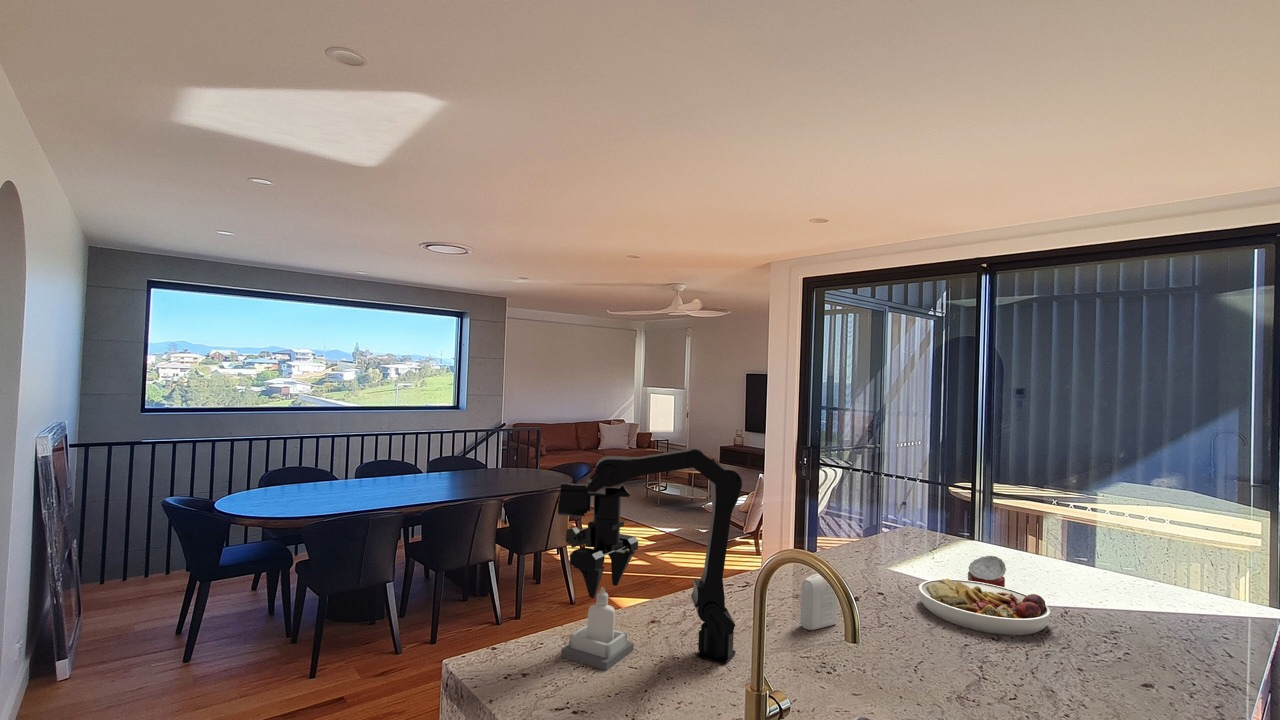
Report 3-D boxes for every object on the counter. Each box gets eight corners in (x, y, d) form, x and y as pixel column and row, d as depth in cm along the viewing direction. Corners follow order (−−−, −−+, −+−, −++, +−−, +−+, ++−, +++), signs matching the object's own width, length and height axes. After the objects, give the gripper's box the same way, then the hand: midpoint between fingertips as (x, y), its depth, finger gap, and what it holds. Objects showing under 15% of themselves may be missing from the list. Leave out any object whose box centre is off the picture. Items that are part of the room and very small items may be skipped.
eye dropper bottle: (595, 639, 130) (598, 582, 131) (616, 646, 127) (619, 587, 128) (582, 645, 127) (586, 586, 128) (603, 652, 124) (607, 592, 125)
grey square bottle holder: (633, 650, 129) (634, 631, 129) (606, 670, 119) (607, 650, 120) (590, 638, 134) (590, 619, 135) (560, 656, 125) (561, 636, 125)
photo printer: (825, 618, 152) (827, 568, 152) (839, 624, 148) (841, 573, 149) (797, 626, 146) (799, 574, 147) (811, 632, 143) (813, 579, 143)
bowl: (921, 626, 150) (922, 593, 151) (915, 590, 178) (916, 563, 179) (1065, 650, 139) (1065, 615, 139) (1034, 608, 167) (1035, 579, 167)
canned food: (1005, 604, 182) (1018, 579, 178) (972, 599, 182) (984, 574, 178) (988, 576, 192) (1001, 552, 188) (957, 571, 193) (968, 547, 188)
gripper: (598, 505, 140) (595, 573, 140) (549, 519, 124) (546, 596, 123) (640, 511, 135) (637, 582, 134) (595, 527, 119) (592, 608, 118)
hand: (603, 591), depth 128 cm, fingers open, 9 cm apart
